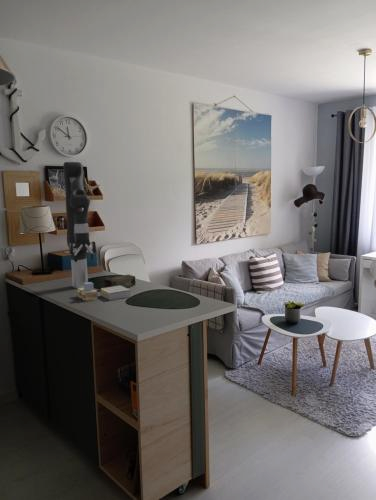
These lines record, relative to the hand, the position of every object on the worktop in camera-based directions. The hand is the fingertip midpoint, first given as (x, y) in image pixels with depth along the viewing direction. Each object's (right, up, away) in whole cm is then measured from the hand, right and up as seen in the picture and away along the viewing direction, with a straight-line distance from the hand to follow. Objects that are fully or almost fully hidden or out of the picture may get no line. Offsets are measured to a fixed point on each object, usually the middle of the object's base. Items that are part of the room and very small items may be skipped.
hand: (83, 261), depth 223 cm
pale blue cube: (+3, -16, -2) cm, 16 cm away
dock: (+17, -20, +2) cm, 26 cm away
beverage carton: (+16, -17, +24) cm, 34 cm away
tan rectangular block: (+2, -21, 0) cm, 21 cm away
